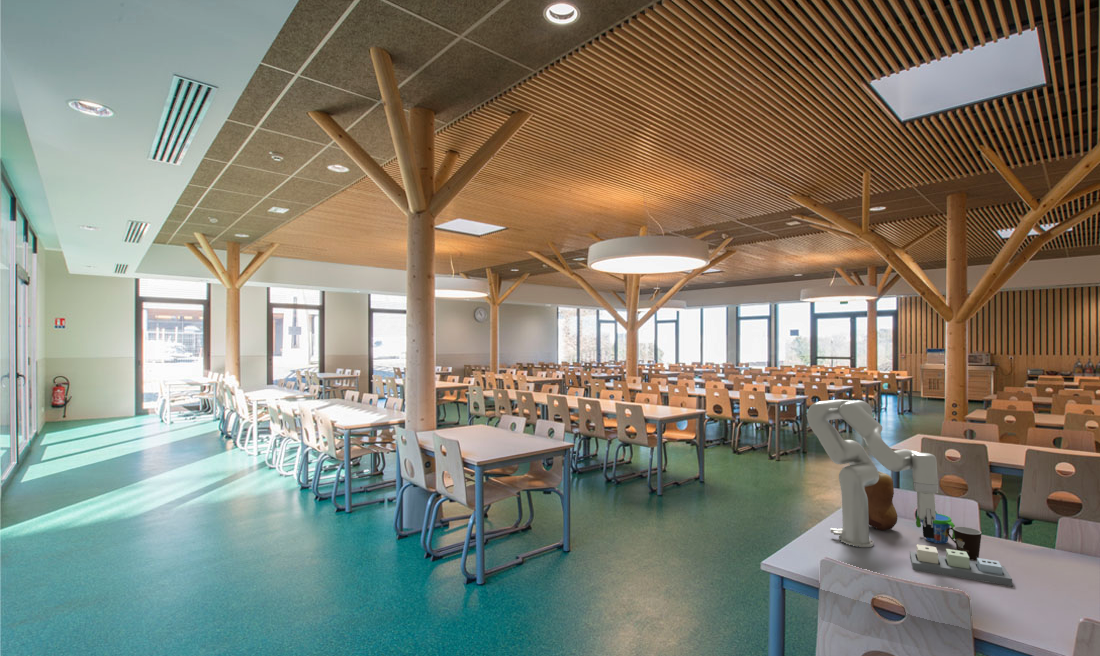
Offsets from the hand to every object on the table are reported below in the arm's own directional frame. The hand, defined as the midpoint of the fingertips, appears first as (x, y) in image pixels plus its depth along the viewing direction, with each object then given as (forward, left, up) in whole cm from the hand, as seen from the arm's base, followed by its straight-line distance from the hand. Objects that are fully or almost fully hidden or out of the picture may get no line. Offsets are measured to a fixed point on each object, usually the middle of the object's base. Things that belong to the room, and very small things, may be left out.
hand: (928, 537), depth 196 cm
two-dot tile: (+8, 0, -8) cm, 12 cm away
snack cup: (+5, +31, -11) cm, 34 cm away
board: (+8, 0, -11) cm, 14 cm away
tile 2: (+17, 0, -10) cm, 20 cm away
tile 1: (-1, 0, -8) cm, 8 cm away
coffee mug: (+13, +19, -11) cm, 26 cm away
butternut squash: (-15, +37, -11) cm, 42 cm away
